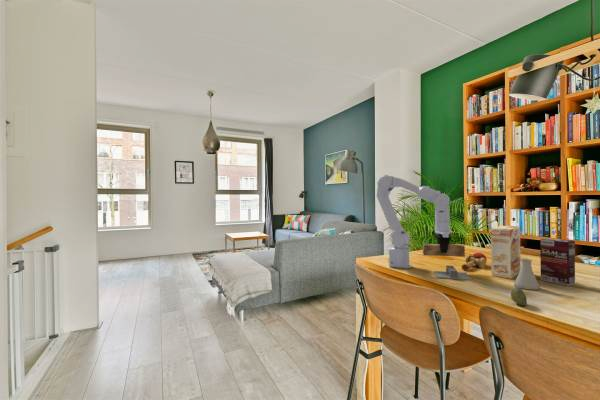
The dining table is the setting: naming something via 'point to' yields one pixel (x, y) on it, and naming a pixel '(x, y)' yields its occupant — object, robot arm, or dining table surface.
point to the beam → (452, 251)
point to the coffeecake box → (505, 251)
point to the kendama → (474, 261)
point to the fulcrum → (451, 274)
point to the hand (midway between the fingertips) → (443, 251)
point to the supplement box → (557, 261)
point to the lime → (519, 296)
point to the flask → (526, 276)
